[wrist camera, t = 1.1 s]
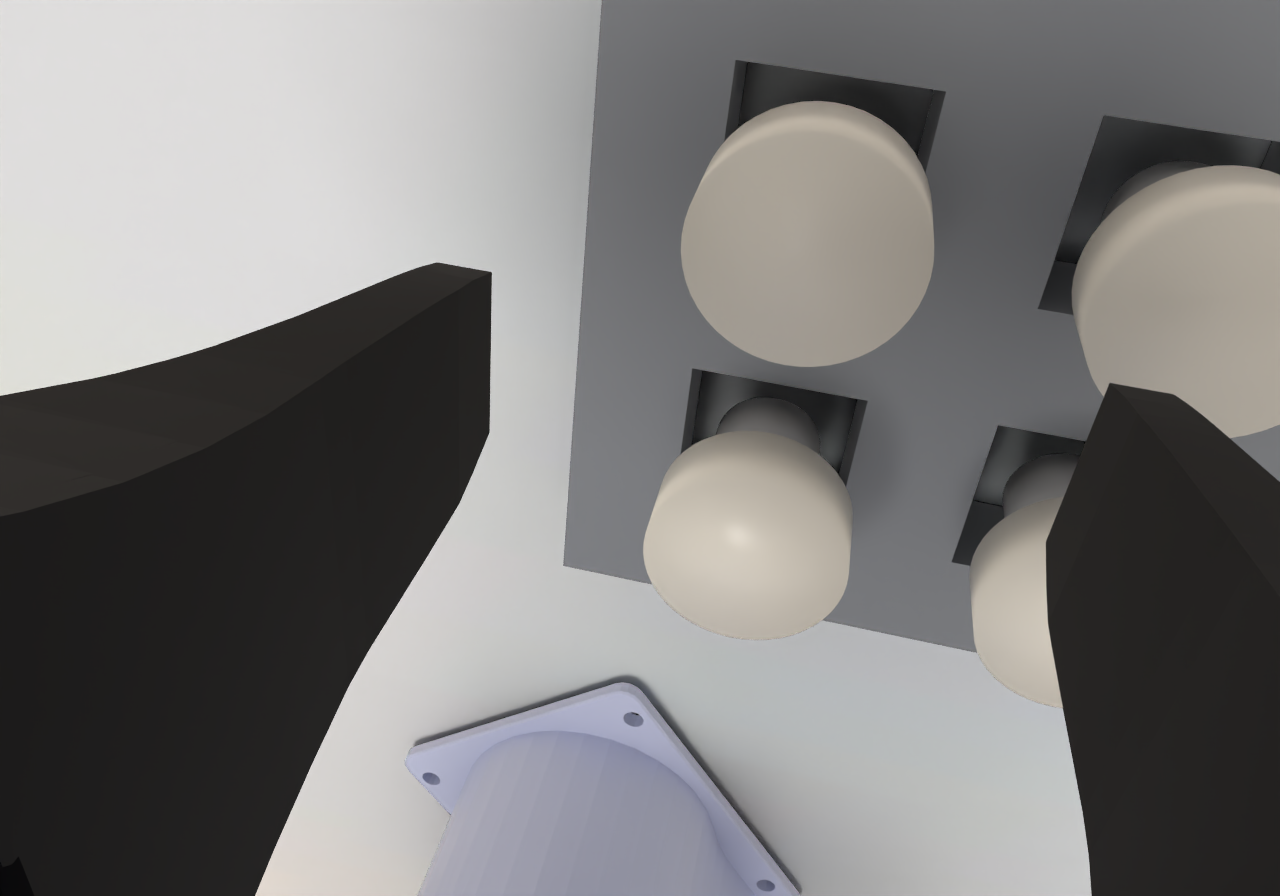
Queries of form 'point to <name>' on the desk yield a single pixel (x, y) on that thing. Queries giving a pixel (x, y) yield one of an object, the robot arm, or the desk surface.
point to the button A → (752, 527)
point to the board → (963, 253)
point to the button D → (1188, 291)
